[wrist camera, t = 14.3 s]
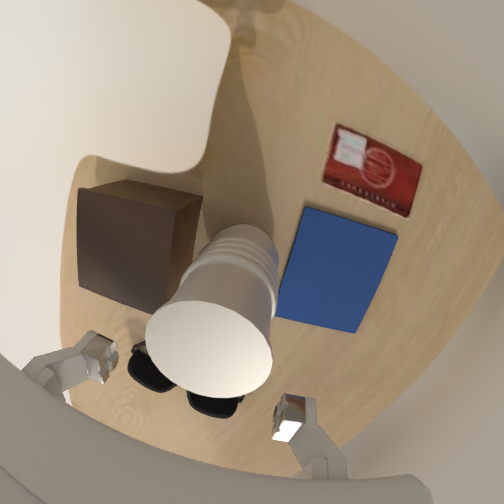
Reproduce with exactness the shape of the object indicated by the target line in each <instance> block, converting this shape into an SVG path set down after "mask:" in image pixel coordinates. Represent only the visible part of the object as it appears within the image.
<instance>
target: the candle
mask: <svg viewBox="0 0 504 504" xmlns="http://www.w3.org/2000/svg"><path fill="white" fill-rule="evenodd" d="M278 265H279V258H278V252H277V250H276V247H275V245H274V243H273V242H272V240H271V238H270V237H269V236H268V235H267V233H266V232H264V231H263V230H262V229H260V228H259V227H256V226H254V225H250V224H238V225H234V226H230V227H228V228H225V229H223V230H221V231H220V232H218V233H217V234H216V235H215V236H214V237H213V238H212V240H211V241H210V243H209V244H208V245H207V246H206V247H204V248H203V249H202V251H201V252H200V253H199V254H198V256H197V257H196V259H194V261H193V262H192V263H191V265H190V266H189V267H188V268H187V270H186V271H185V273H184V274H183V276H182V277H181V281H180V284H179V289H178V290H177V291H176V293H175V294H174V295H173V297H172V298H171V300H170V301H169V302H167V303H165V304H164V305H163V306H161V307H160V308H159V309H158V310H156V311H155V313H154V314H153V316H152V317H151V319H150V321H149V322H148V324H147V327H146V332H145V342H146V348H147V351H148V353H149V355H150V357H151V359H152V361H153V363H154V364H155V365H156V366H157V368H158V369H159V370H160V372H161V373H163V374H164V375H165V376H166V377H167V378H168V379H169V380H171V381H172V382H173V383H175V384H177V385H178V386H180V387H182V388H184V389H186V390H188V391H191V392H193V393H196V394H198V395H203V396H208V397H213V398H231V397H237V396H242V395H245V394H247V393H249V392H252V391H254V390H255V389H257V388H258V387H259V386H260V385H262V384H263V383H264V382H265V380H266V379H267V377H268V376H269V374H270V371H271V366H272V361H273V354H272V348H271V343H270V341H269V338H270V327H271V322H272V320H273V318H274V317H275V315H276V309H277V303H278V299H277V298H278V282H279V276H278Z"/></svg>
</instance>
